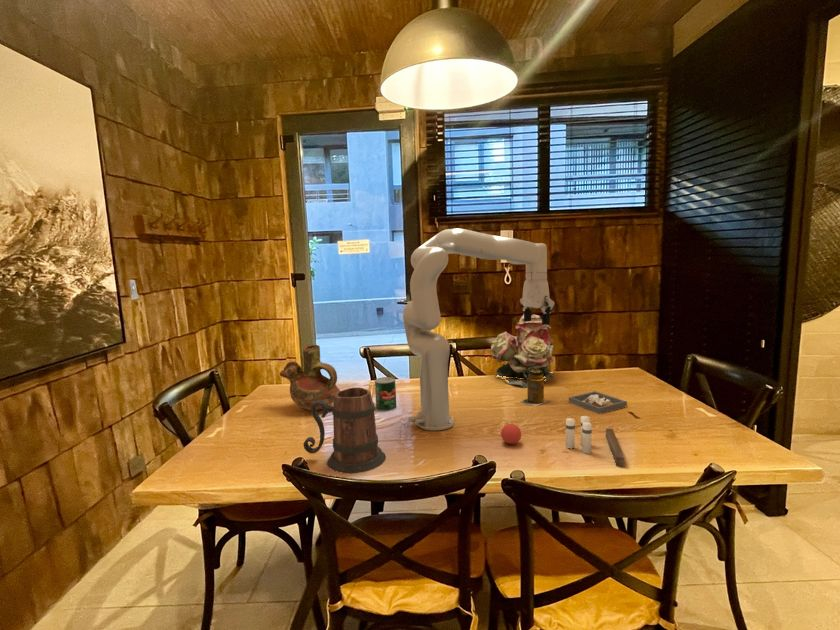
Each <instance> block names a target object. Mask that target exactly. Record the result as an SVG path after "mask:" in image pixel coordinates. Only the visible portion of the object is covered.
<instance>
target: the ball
mask: <svg viewBox="0 0 840 630" xmlns="http://www.w3.org/2000/svg"><path fill="white" fill-rule="evenodd" d="M500 437H501V439H502V441H504V443H506V444H508V445H515V444H517V443H519V441H520V440H521V438H522V430H521V428H520V427H519V426H518V425H517V424H514V423H507V424H506V425H504V426H503V427H502V428H501V432H500Z"/></svg>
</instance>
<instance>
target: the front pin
mask: <svg viewBox="0 0 840 630" xmlns="http://www.w3.org/2000/svg"><path fill="white" fill-rule="evenodd" d="M575 423H576V420H575V418H572V417H567V418H565V448H566V447H567V448H566V449H568V448H570V449H569V450H573V449H572V448H574V449H575V447H576V446H575V444H576V442H575V440H576V439H575V437H576V436H575V432H576V430H575V429H576V424H575Z"/></svg>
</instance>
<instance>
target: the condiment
mask: <svg viewBox="0 0 840 630" xmlns="http://www.w3.org/2000/svg"><path fill="white" fill-rule="evenodd" d="M528 373H529V375H528V376H529V377H528V379H527V380H528V388H527V398H526V399H523V400H521V401H520V403H522V404H524V405H529V406H533V407H538V406H540V405H541V404H545V403H547V402H548V401H549V400H548V399H545V398H544V396H545V392H544V391H545V390H544V389H545V387H544V386H545V384H544V379H543V375H544V374H543V372H542V371H541V370H530V371H529V372H528Z"/></svg>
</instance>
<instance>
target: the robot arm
mask: <svg viewBox="0 0 840 630" xmlns="http://www.w3.org/2000/svg"><path fill="white" fill-rule="evenodd" d="M547 249H548V248H547V244H545V243H543V242H539V243H537V242H532V241H527V240H524V239H523V240H522V239H519V238H513V237H506V236H505V237H504V236H499V235H493V234H489V233H484V232H478V231H474V230H471V229H465V228H459V227H456V228H448V229H444V230H443V229H442V230H441V231H440V232H438V233H436V234H435V235H434V236H433V237H431V238H430V239H428V240H426V241H425V242H424V243H423V244H421V245H420V246H418V247H417V248H416V249H414V251H413V252H412V254H411V256H410V264H411V266H412V268H413V271H412V274H411V277H410V281H409V286H410V287H409V288H410V290H409V291H410V298H411V300H410V301H409V302H407V304H405V306H404V308H403V312H402V320H403V325H404V332H405V337H406V341H407V346H408V348H409V351H410V352H411V353H412V354H413V355H415V356H416V357H419V358H421V363H420V366H419V367H420V368H419V386H420V388H419V389H420V391H419V393H420V410H419V411H418V414H416V415H414V416H413V415H412V416H408V418H407V421H408V423H409V424H411V423H415V424H416V425H417V426H418V427H419V428H420V429H423V430H426V431H435V432H436V431H443V430H447V429H449V428H451V427H454V425H455V420H454V418H453V417H452V416H450V403H449V402H450V399H449V376H448V375H449V373H448V372H449V370H448V369H449V357H450V349H451V348H450V344H449V341H448V340H447V339H446V338H445V336H443V335H441V334H440V333H437V332H433V331H432V330H435V329H436V328H437V327H439V325H440V323H441V318H442V317H441V312H440V305H439V299H438V294H437V293H438V292H437V282H438V278H439V277H440V275H441V273H442V272H443V271H444V270H445V269H446V267H447V266H448V263H449V255H451V254H453V255H455V254H456V255H462V256H466V257H467V256H468V257H473V258H476V259H477V258H478V259H481V260H491V261H492V260H493V261H494V260H495V261H497V260H500V261H504V260H505V261H506V262H507V263H509V264H511V265H525V280H524V283H523V289H522V297H521V298H520V299H519V302H520V307H521V309H522V311H523V314H524V322H528V321H531V315H532V310H531V309H540V310H541V312H542V313H541V320H542V325H544V326H546V325H549V324H550V321H551V320H550V318H551V317H550V314H551V313H552V311H553V310H554V306H555V301H554V300H553V299H551V298H550V290H549V289H550V288H549V282H548V273H547V272H548V250H547Z"/></svg>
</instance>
